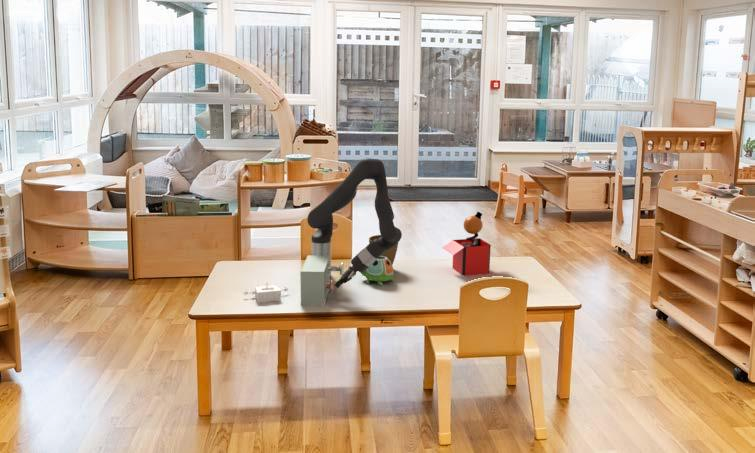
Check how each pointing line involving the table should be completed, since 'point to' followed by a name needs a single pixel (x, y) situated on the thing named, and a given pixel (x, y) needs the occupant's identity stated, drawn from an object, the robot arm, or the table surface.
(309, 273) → the console
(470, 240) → the jack-in-the-box
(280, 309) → the table surface
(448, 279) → the table surface
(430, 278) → the table surface
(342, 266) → the plunger cream
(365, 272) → the turtle holder
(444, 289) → the table surface
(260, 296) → the cartoon character
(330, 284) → the plunger terracotta
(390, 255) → the plant pot
